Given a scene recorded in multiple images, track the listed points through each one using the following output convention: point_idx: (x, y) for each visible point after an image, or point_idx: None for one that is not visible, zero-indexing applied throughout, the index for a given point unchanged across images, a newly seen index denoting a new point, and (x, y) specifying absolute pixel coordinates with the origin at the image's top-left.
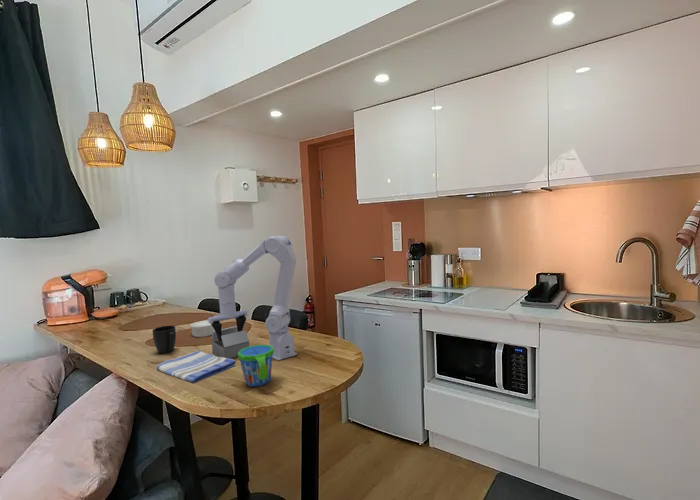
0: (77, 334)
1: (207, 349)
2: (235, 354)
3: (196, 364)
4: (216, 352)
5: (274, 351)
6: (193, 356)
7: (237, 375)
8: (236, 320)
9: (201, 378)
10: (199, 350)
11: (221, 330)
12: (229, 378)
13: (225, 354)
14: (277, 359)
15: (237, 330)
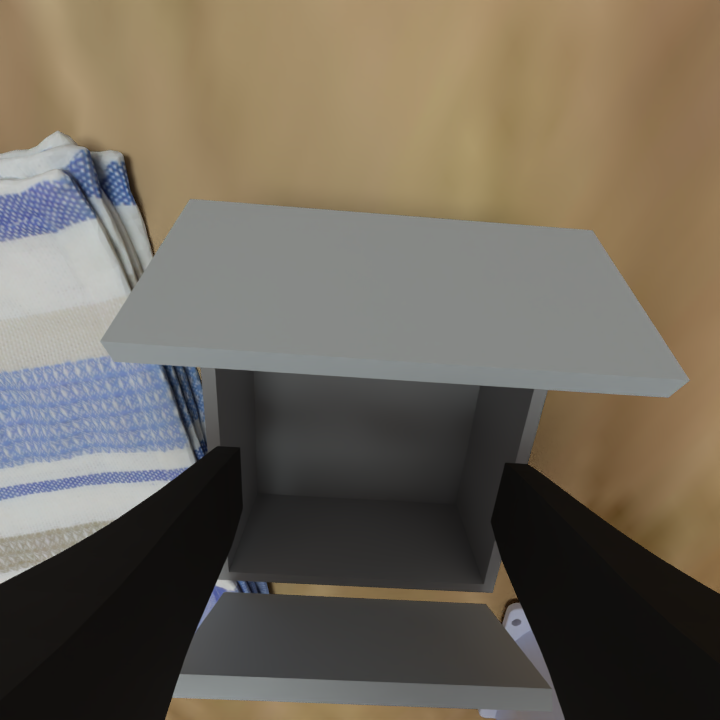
0: None
1: (237, 10)
2: (343, 516)
3: (32, 460)
4: None
5: (515, 717)
6: (11, 263)
7: (227, 709)
8: (714, 701)
9: None
10: (69, 184)
11: (307, 366)
12: (183, 711)
13: (254, 529)
14: (479, 711)
15: (540, 507)
